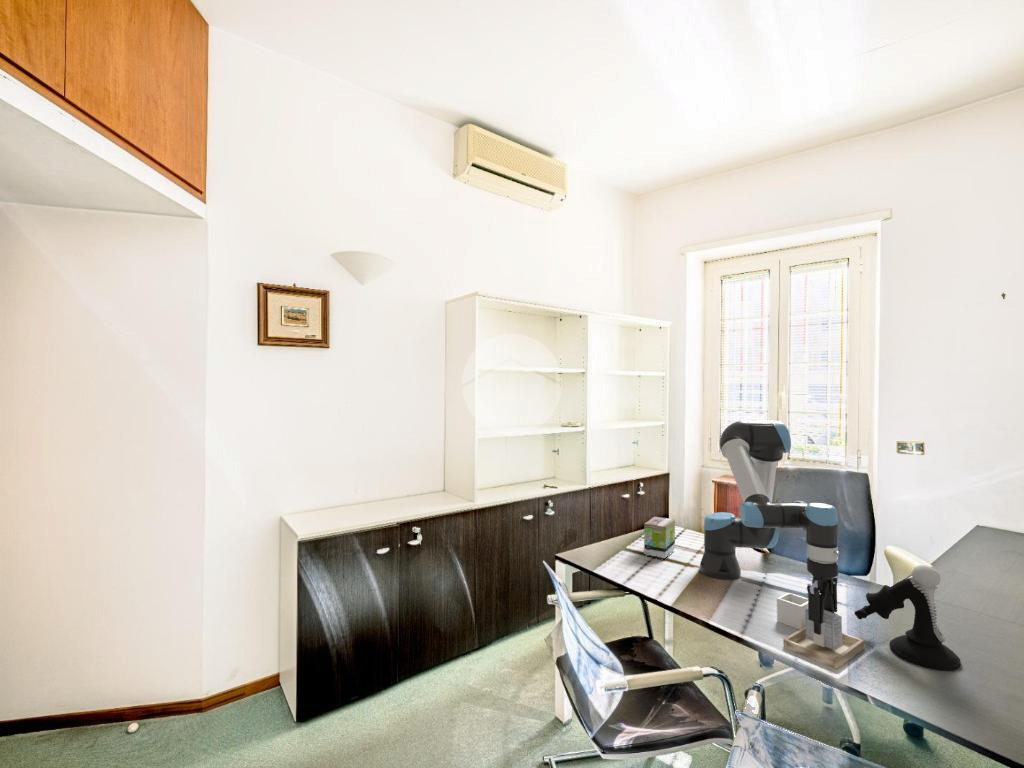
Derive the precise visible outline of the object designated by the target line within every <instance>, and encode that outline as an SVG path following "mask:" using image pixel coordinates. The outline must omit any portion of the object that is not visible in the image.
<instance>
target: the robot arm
mask: <svg viewBox="0 0 1024 768" xmlns="http://www.w3.org/2000/svg"><path fill="white" fill-rule="evenodd" d="M791 448H792V441H791V434H790V432H789V429H788V427H787V426H786V424H785V423H784V422H783V421H778V420H776V421H775V420H772V419H771V420H739V421H735V422H732V423H731V424H729V425H727V426H726V427H725V429H723V432H721V435H720V438H719V449H720V452H721V454H722V456H723V457H724V458H725V459H726V460H727V462H728V465H729V467H730V470H731V473H732V475H733V478H734V481H735V483H736V487H737V489H738V492H739V494H740V496H741V499H742V503H741V504H740V506H739V516H740V517H739V516H738V517H736V515H735V514H734V513H731V512H724V511H723V512H722V511H721V512H712V513H710V514H708V515H706V516H705V517H704V520H703V521H704V522H703V537H704V539H703V541H704V542H703V544H704V545H703V546H704V548H703V549H704V551H703V554H702V558H701V560H700V563H699V571H700V573H702V574H703V575H705V576H708V577H709V578H710V577H711V578H716V579H720V580H734V579H739V578H741V575H742V573H741V571H742V570H741V567H740V563H739V560H738V558H737V556H736V549H737V548H744V549H745V548H746V549H748V548H749V549H760V550H762V549H772V548H774V547H776V545H777V543H778V541H779V536H780V535H779V534H780V533H779V529H793V530H794V529H796V530H797V529H798V530H799V529H800V530H804V531H805V532H806V556H807V558H806V570H807V572H808V573H810V574H811V575H812V580H811V585H809V584H807V587H806V589H807V590H806V591H807V599H808V618H809V620H811V621H813V643H815V644H817V645H820V646H822V647H825V623H823V614H824V610H826V611H829V612H832V613H834V614H836V613H838V586H837V585H838V577H837V576H839V563H838V562H837V561H838V560H839V555H840V551H838V547H839V546H838V544H839V543H838V537H839V536H838V528H839V527H838V525H839V524H838V523H839V518H838V511H837V508H836V507H835V506H834V505H831V504H827V503H821V502H811V503H810V502H808V501H802V500H794V501H792V502H789V503H788V502H773V499H774V498H773V497H774V490H775V489H774V488H775V482H776V475H777V467H778V462H780V461H782V460H783V456H784V454H787V453H789V452H790V451H791Z"/></svg>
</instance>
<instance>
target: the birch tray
mask: <svg viewBox="0 0 1024 768" xmlns="http://www.w3.org/2000/svg"><path fill="white" fill-rule="evenodd" d="M783 648H785V649H787V650H789V651H792V652H795V653H797V654H799V655H802V656H804V657H806V658H809V659H812V660H814V661H817V662H818V663H821V664H823V665H825V666H828V667H830V668H833V669H836V670H838V669H839V668H840V667H842V666H844V665H845V663H847V662H849V660H850V659H852V658H854V657H855V656H856V655H857V654H859V653H860V652H862V651H863V650H864V649H865V640H864V639H862V638H859V637H856V636H853V635H851V634H847V633H846V632H845V633H844V632H842V647H840V648H838V649H836V650H832V649H830V648H827V647H822V646H820V645H817V644H815V643H813V641H811V640H809V639H807V638H806V626H805V627H803V628H801V629H800V630H799V629H797V630H796V631H795V632H793V633H791V634H790V635H788V636H786V637H784V638H783Z"/></svg>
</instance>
